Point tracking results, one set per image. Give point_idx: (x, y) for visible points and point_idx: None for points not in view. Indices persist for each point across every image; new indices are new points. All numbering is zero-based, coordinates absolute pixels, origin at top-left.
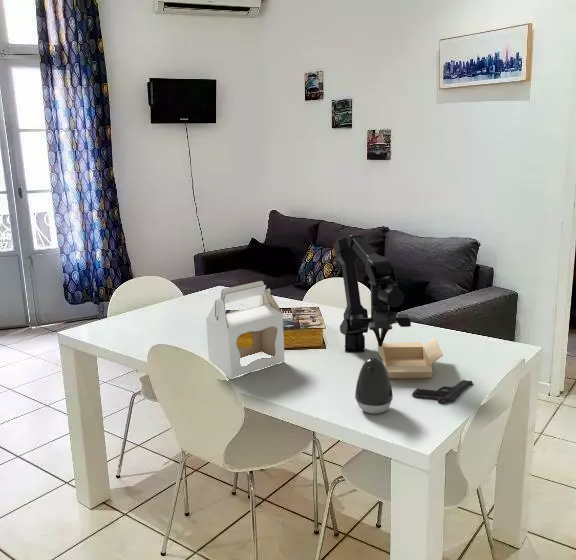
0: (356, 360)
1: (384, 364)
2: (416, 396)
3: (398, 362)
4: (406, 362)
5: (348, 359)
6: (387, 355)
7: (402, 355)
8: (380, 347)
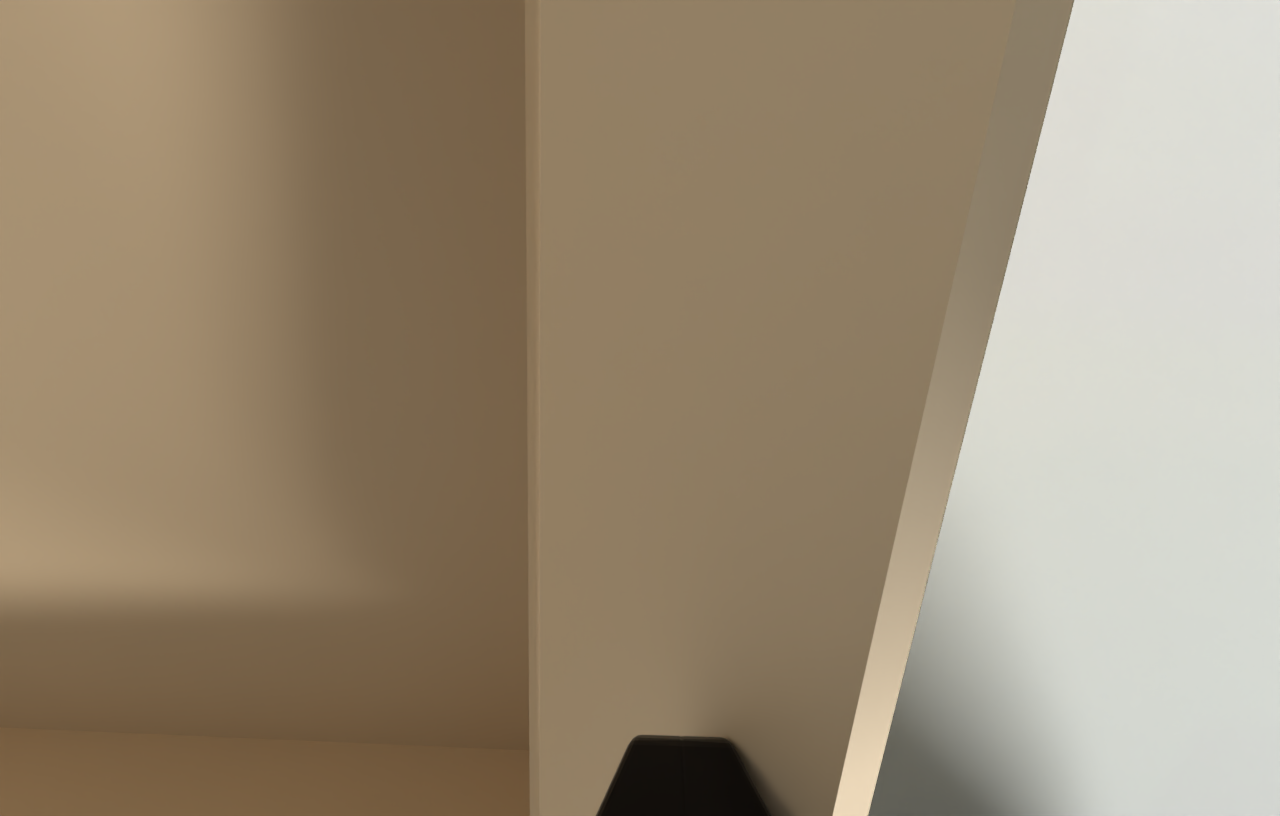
0: (1115, 690)
1: None
2: None
3: (211, 507)
4: (20, 493)
5: (1259, 739)
6: (450, 781)
7: (131, 764)
8: None
